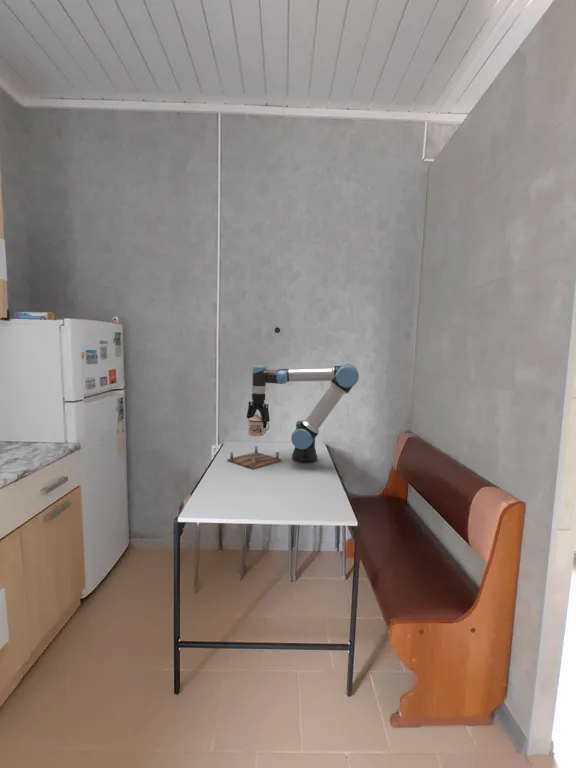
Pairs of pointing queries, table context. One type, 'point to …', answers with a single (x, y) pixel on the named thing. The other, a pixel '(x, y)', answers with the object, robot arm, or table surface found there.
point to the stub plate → (258, 460)
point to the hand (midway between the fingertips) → (257, 432)
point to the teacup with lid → (256, 426)
